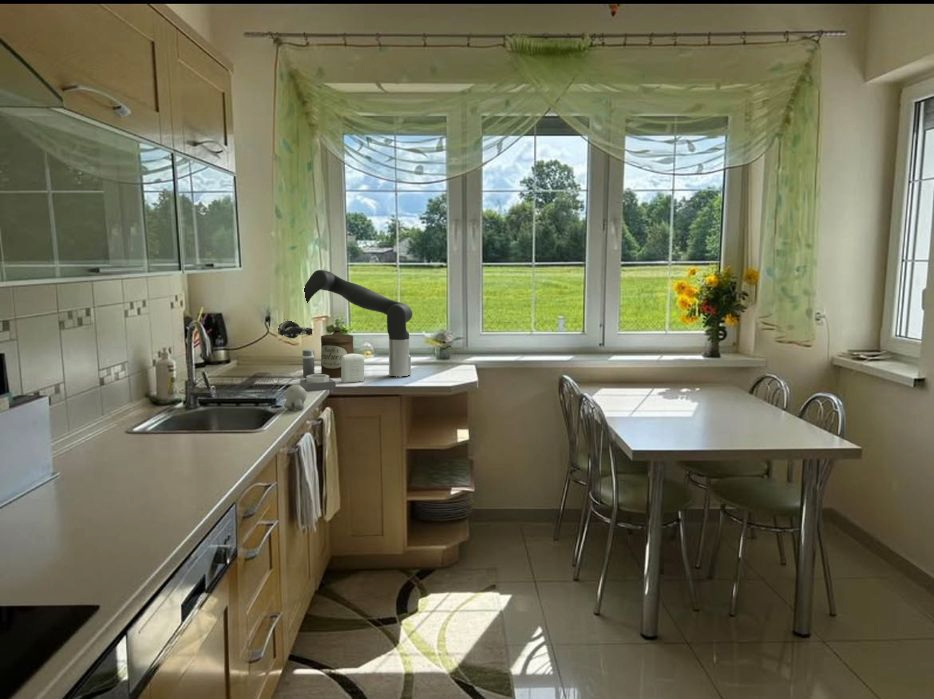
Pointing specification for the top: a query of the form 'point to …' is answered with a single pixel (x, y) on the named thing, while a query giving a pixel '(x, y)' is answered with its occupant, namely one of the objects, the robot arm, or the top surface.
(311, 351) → the grey bottle
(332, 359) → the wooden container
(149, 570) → the top surface
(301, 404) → the chubby cartoon animal
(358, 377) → the photo printer
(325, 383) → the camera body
